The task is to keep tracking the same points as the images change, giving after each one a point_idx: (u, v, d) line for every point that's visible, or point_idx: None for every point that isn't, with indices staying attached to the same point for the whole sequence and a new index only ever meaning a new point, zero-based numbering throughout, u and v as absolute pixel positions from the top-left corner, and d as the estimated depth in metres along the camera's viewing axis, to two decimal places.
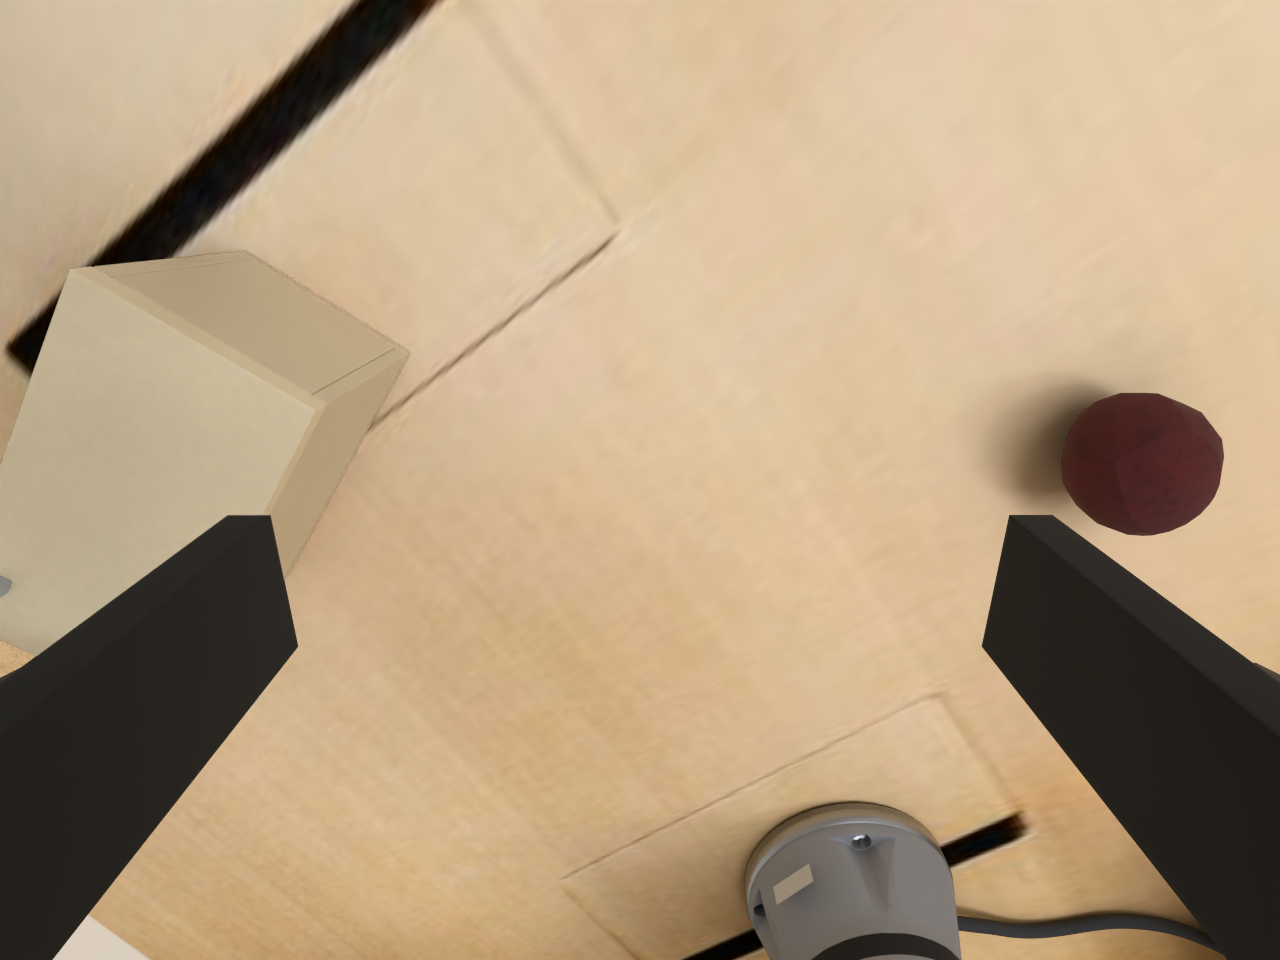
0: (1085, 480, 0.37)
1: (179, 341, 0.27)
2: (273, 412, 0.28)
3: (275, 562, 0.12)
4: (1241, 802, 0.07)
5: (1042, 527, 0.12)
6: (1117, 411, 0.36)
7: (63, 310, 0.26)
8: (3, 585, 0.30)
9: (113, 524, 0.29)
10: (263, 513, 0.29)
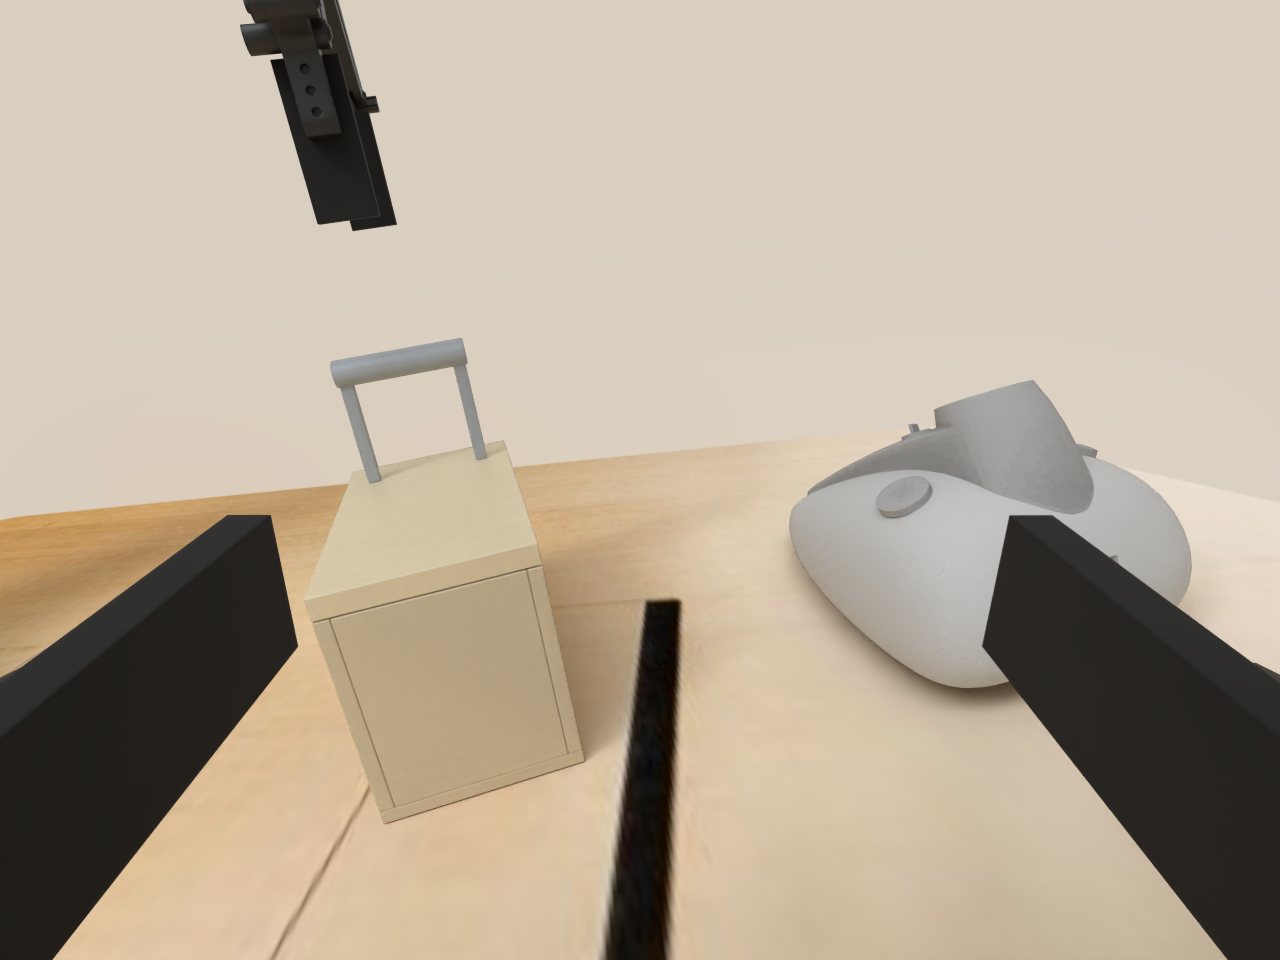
0: None
1: (437, 563, 0.30)
2: (340, 581, 0.30)
3: (275, 562, 0.12)
4: (1241, 802, 0.07)
5: (1042, 527, 0.12)
6: None
7: (526, 529, 0.32)
8: (475, 454, 0.43)
9: (430, 497, 0.38)
10: None
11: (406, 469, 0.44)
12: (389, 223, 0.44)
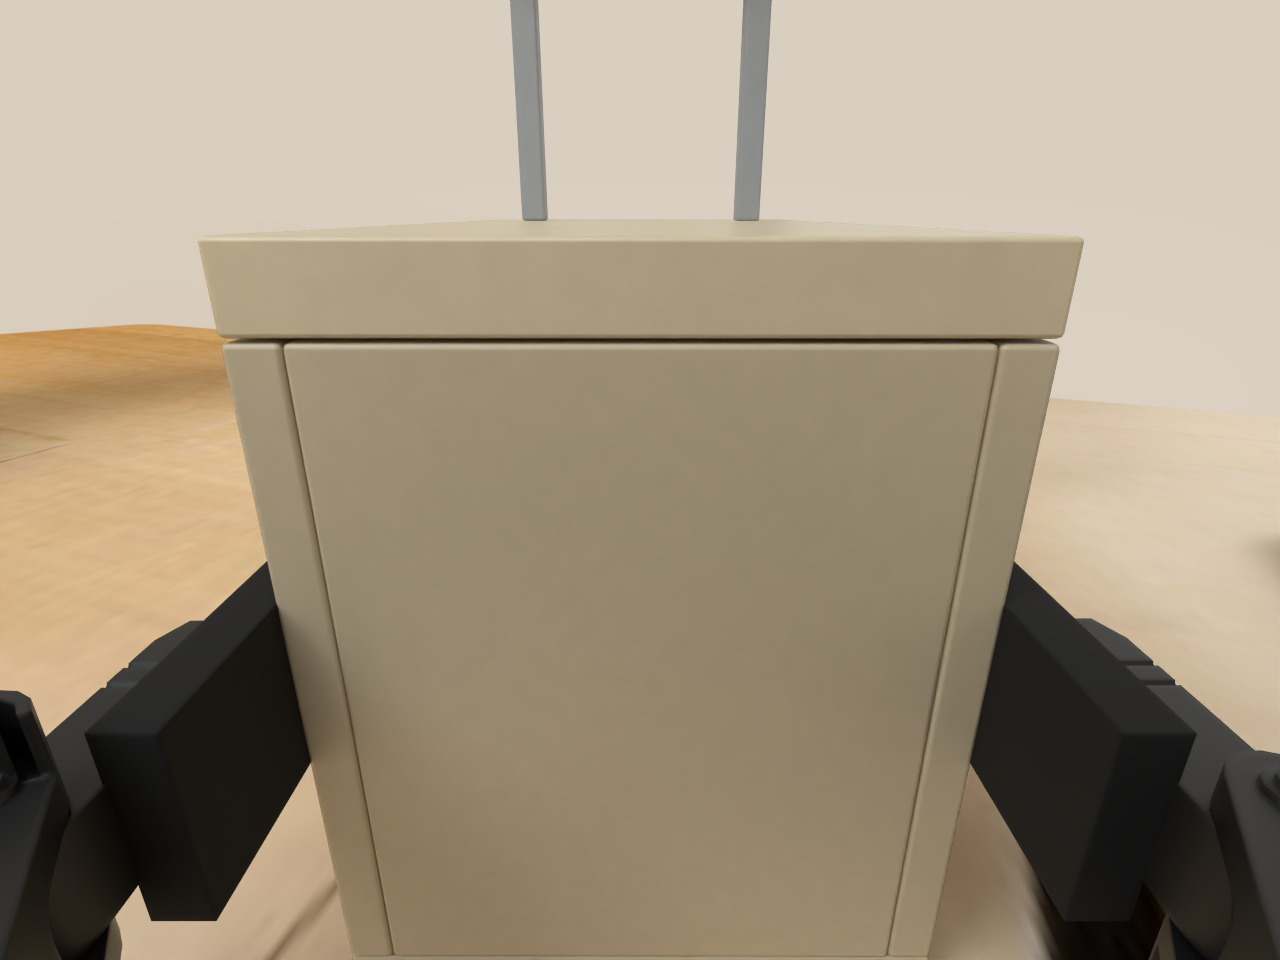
0: None
1: (690, 236, 0.08)
2: (353, 234, 0.09)
3: None
4: (1043, 731, 0.08)
5: None
6: None
7: (989, 232, 0.09)
8: (739, 206, 0.21)
9: (646, 223, 0.16)
10: None
11: None
12: None
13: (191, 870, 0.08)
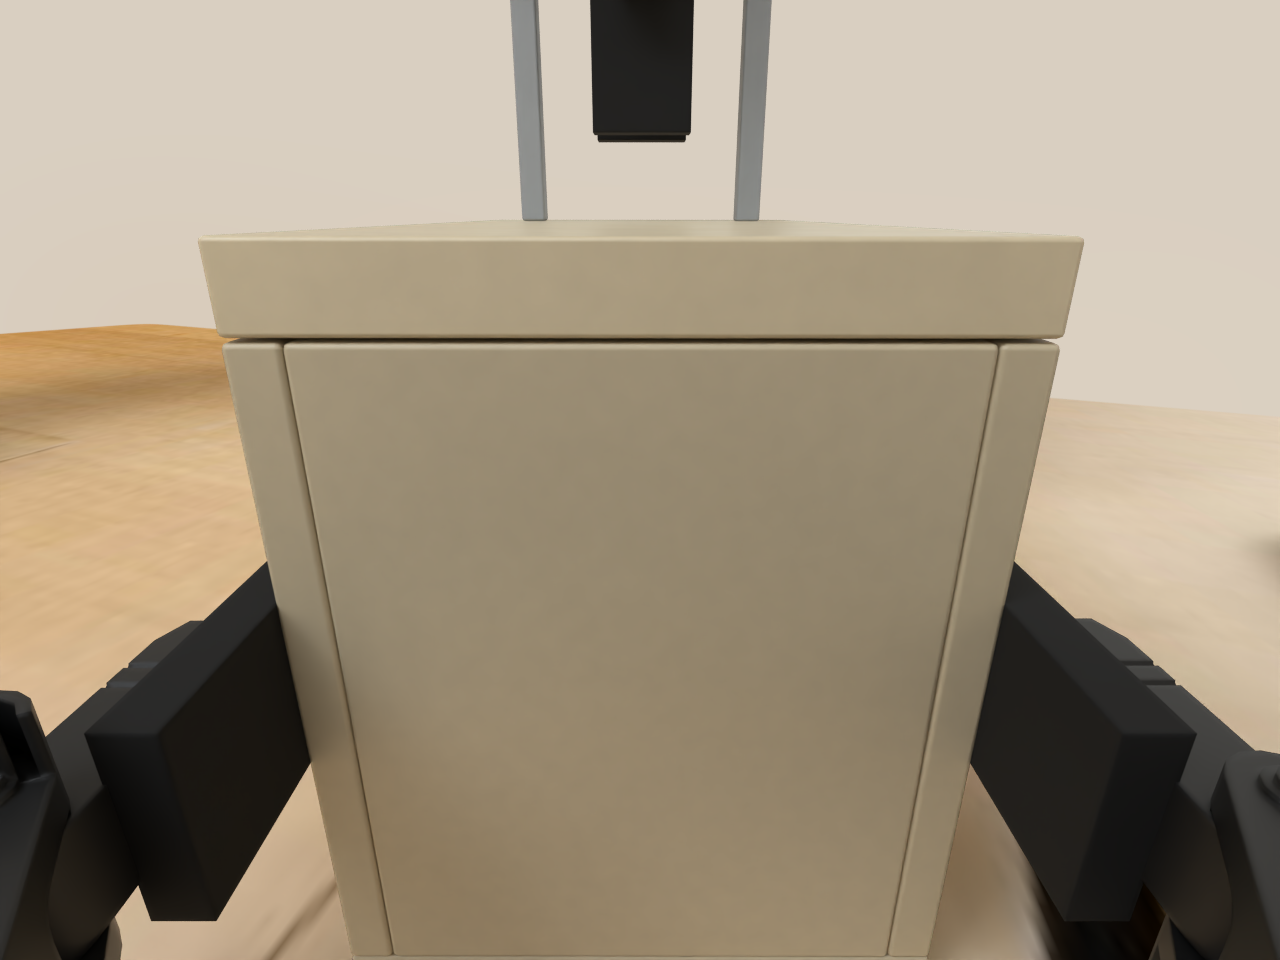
0: None
1: None
2: (353, 233, 0.09)
3: None
4: (1042, 731, 0.08)
5: None
6: None
7: (989, 232, 0.09)
8: (739, 206, 0.21)
9: (646, 223, 0.16)
10: None
11: None
12: (672, 136, 0.21)
13: (191, 870, 0.08)
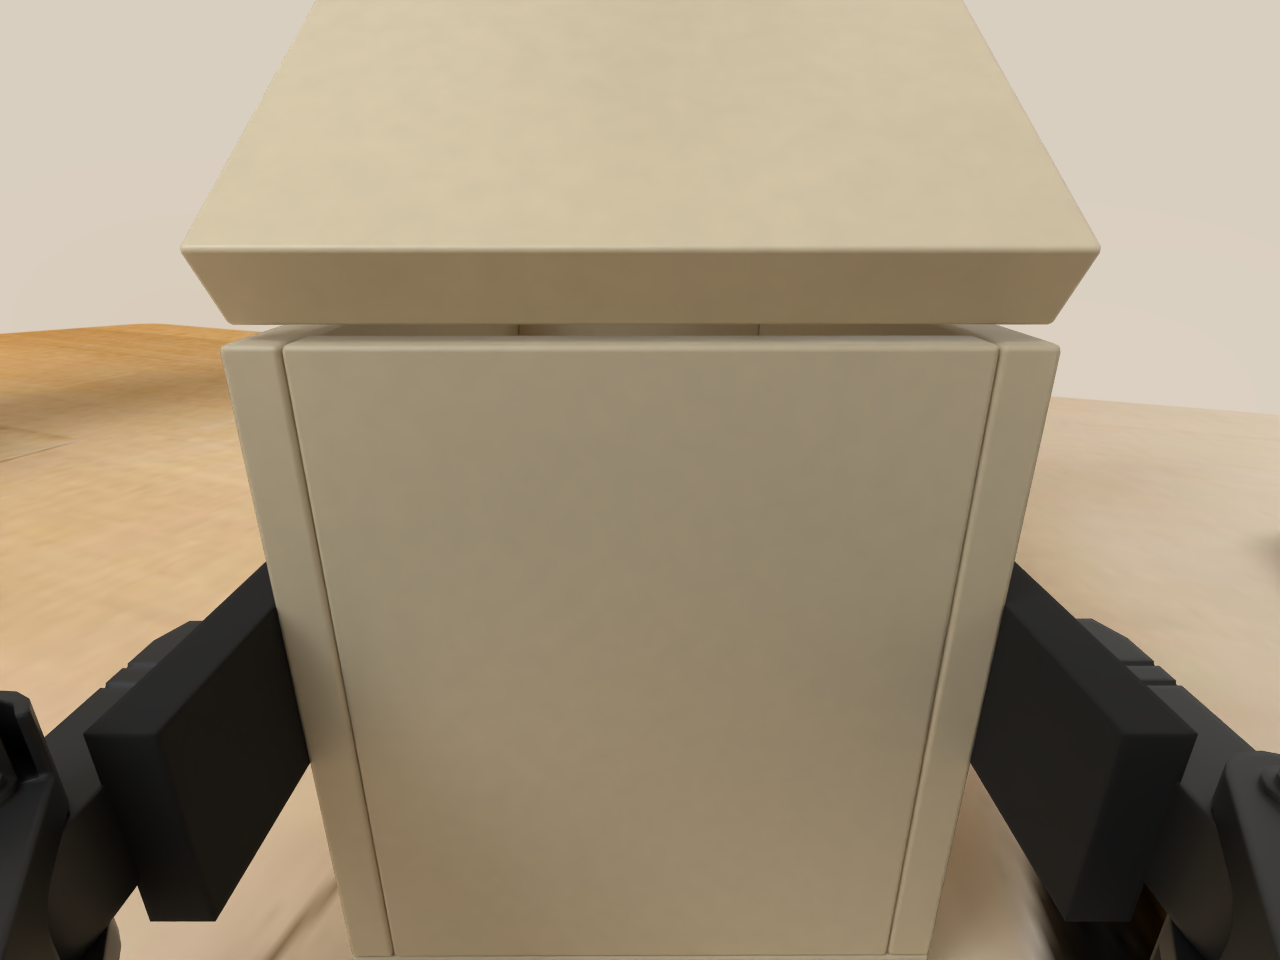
0: None
1: (693, 228, 0.08)
2: (328, 192, 0.08)
3: None
4: (1043, 732, 0.08)
5: None
6: None
7: (1029, 157, 0.08)
8: None
9: None
10: None
11: None
12: None
13: (190, 870, 0.08)
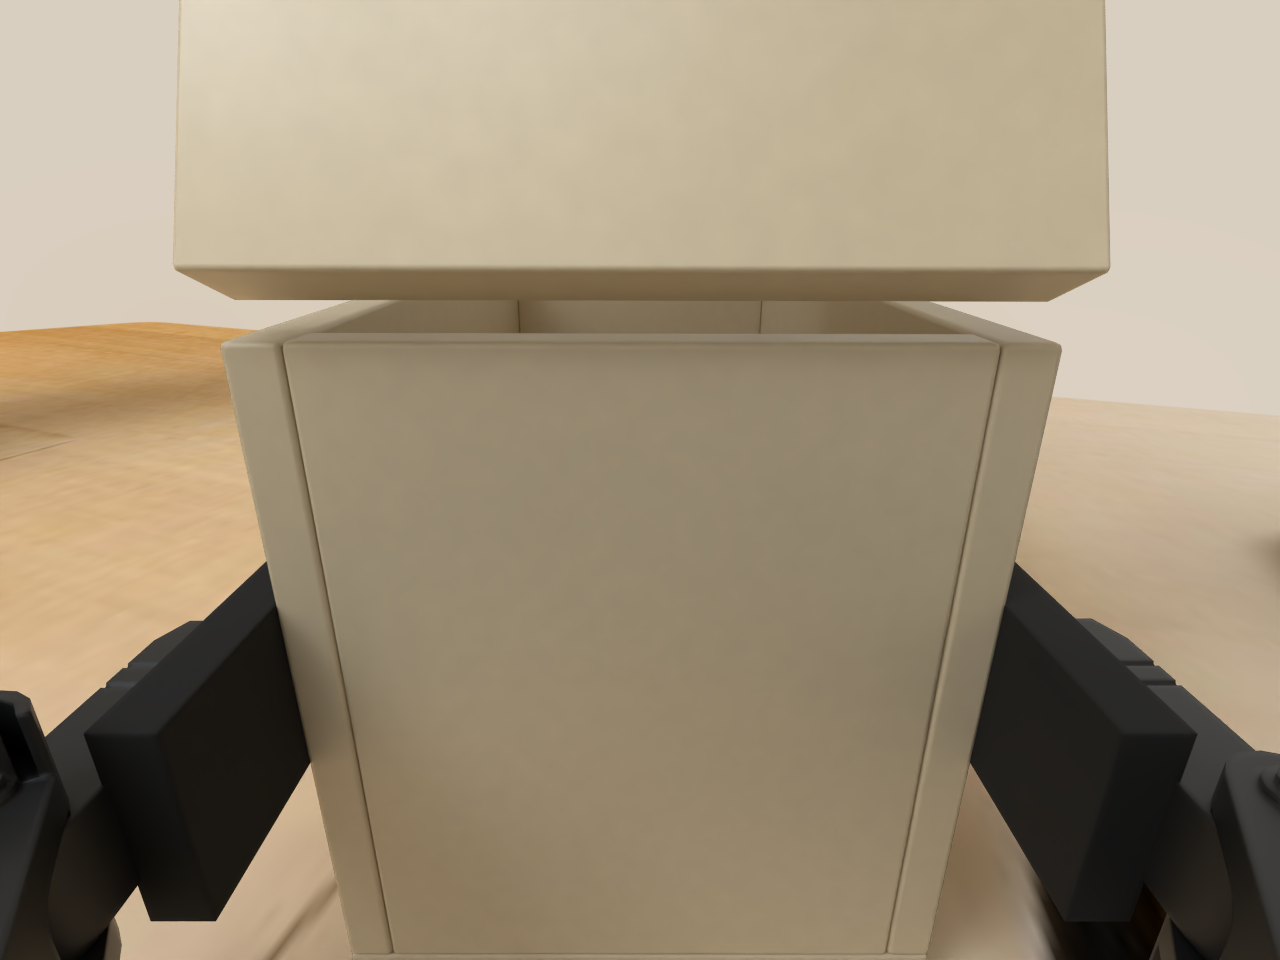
0: None
1: (696, 239, 0.07)
2: (303, 178, 0.07)
3: None
4: (1043, 731, 0.08)
5: None
6: None
7: (1082, 115, 0.07)
8: None
9: None
10: None
11: None
12: None
13: (191, 870, 0.08)
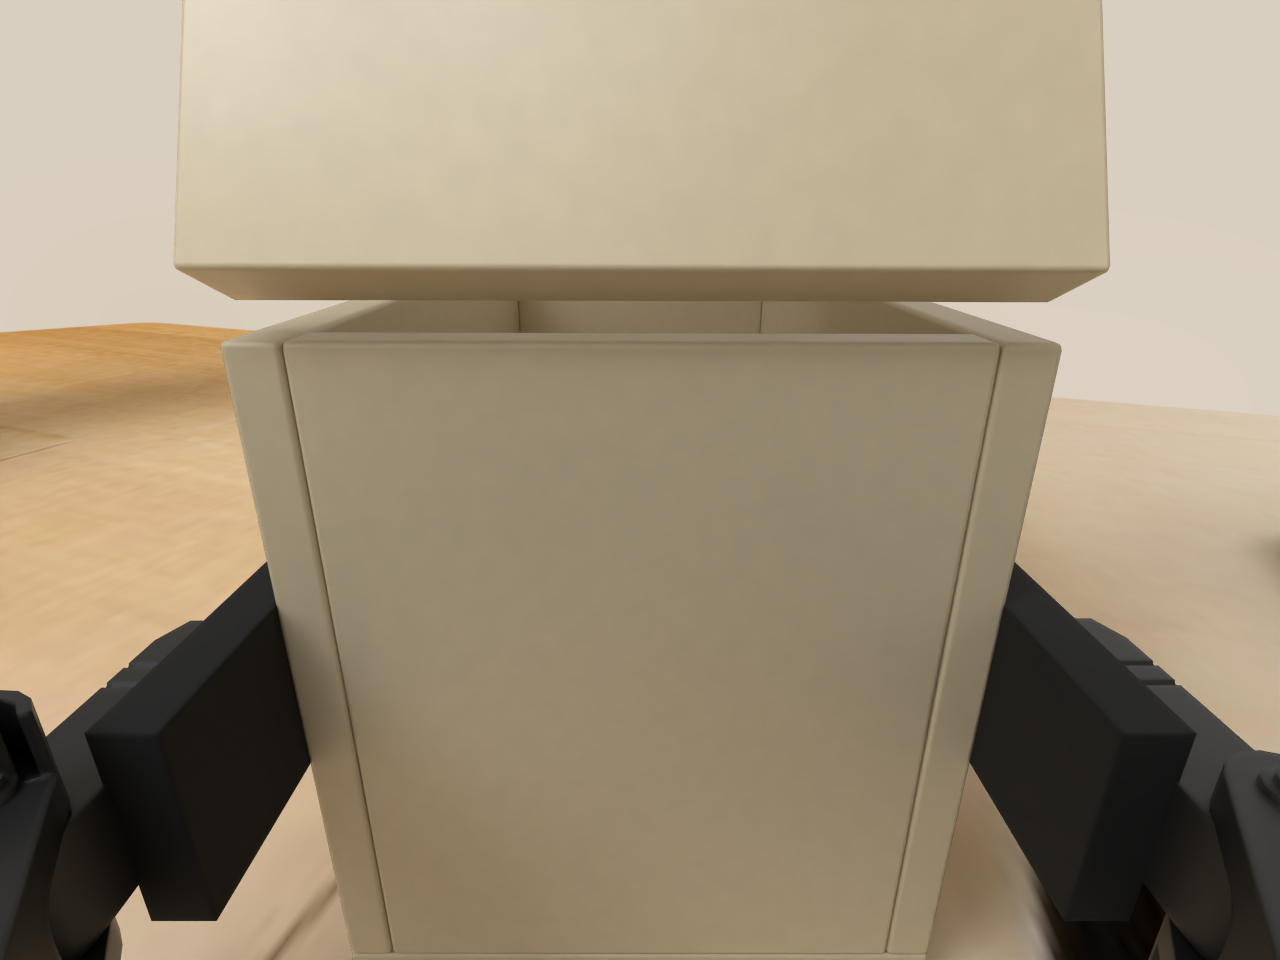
0: None
1: (696, 238, 0.07)
2: (304, 177, 0.07)
3: None
4: (1042, 731, 0.08)
5: None
6: None
7: (1079, 116, 0.07)
8: None
9: None
10: None
11: None
12: None
13: (192, 870, 0.08)
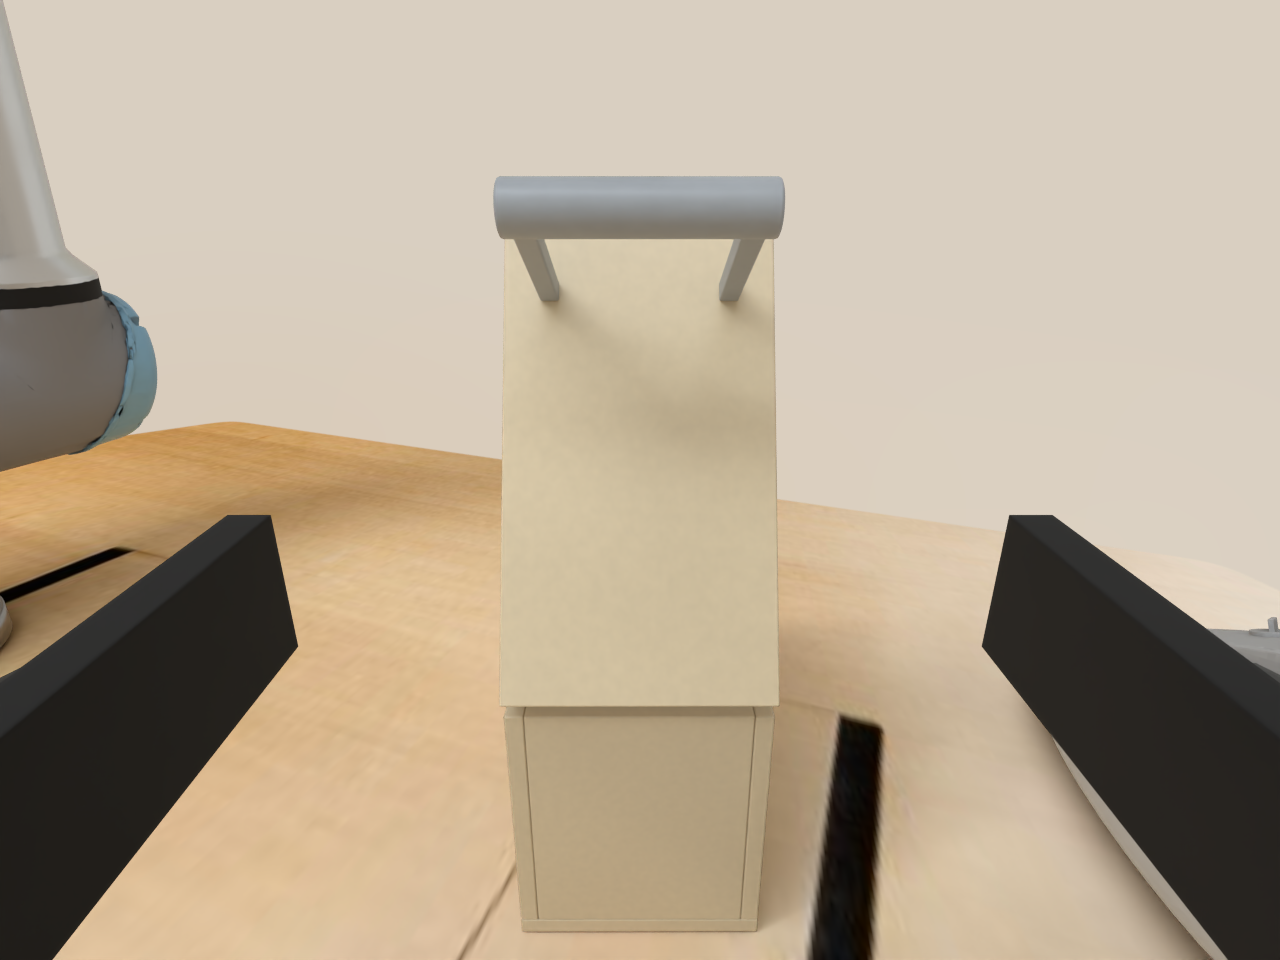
0: None
1: (655, 697, 0.24)
2: (538, 678, 0.24)
3: (276, 562, 0.12)
4: (1242, 802, 0.07)
5: (1042, 527, 0.12)
6: None
7: (770, 658, 0.24)
8: (722, 297, 0.25)
9: (643, 441, 0.25)
10: (501, 552, 0.25)
11: (600, 265, 0.25)
12: None
13: None
